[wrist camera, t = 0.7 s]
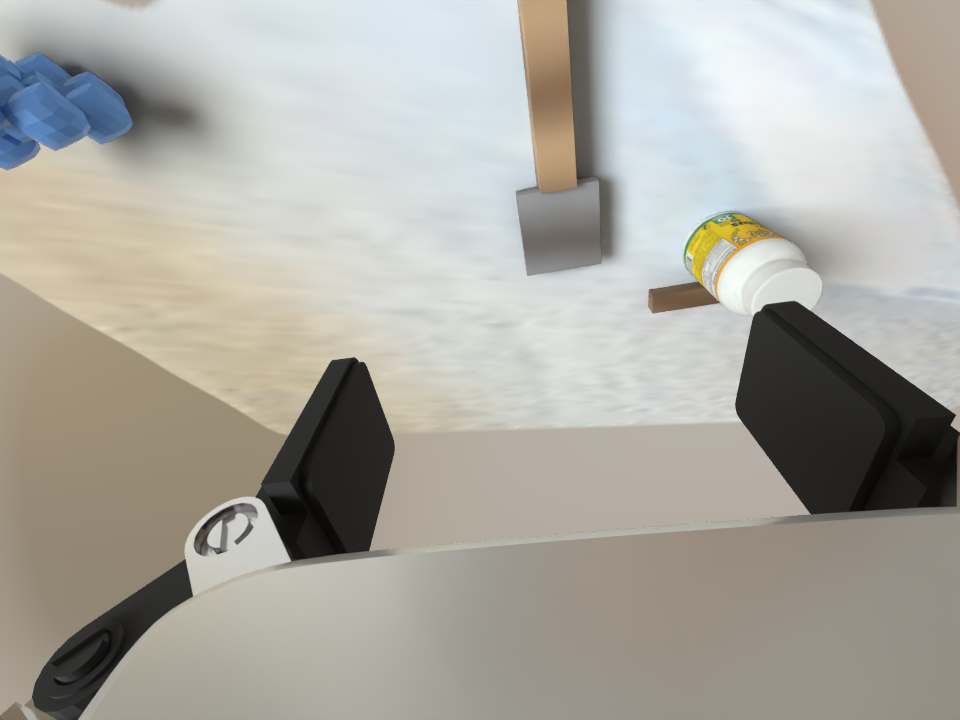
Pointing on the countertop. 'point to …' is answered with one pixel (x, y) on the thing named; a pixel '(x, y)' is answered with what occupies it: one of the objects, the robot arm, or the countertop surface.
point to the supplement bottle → (748, 264)
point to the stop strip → (679, 297)
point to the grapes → (53, 109)
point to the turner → (554, 151)
